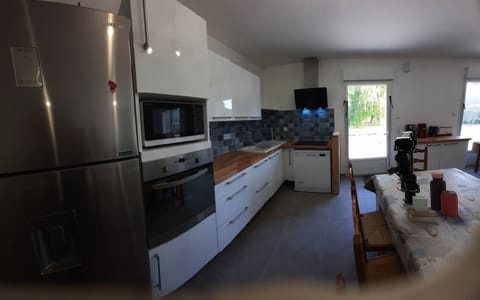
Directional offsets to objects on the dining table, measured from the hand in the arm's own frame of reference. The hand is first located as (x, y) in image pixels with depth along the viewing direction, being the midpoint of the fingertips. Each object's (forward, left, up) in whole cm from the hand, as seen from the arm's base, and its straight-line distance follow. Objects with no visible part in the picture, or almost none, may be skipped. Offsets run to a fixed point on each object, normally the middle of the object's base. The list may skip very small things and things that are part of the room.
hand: (405, 188), depth 129 cm
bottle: (-6, +16, -13) cm, 22 cm away
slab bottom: (+9, +4, -13) cm, 16 cm away
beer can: (+2, +18, -13) cm, 22 cm away
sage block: (+9, +4, -8) cm, 13 cm away
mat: (+9, +4, -13) cm, 16 cm away
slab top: (+9, +4, -10) cm, 14 cm away
